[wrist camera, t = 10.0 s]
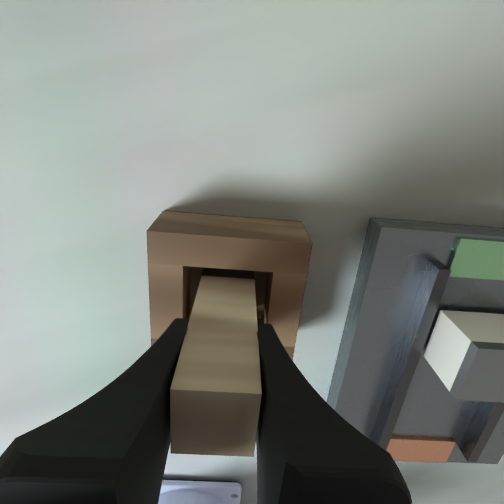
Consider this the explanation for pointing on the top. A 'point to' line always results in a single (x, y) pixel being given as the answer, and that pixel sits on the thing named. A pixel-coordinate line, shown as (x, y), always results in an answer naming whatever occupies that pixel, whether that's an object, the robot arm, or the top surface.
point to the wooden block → (218, 369)
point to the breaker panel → (417, 340)
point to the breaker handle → (469, 354)
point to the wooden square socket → (227, 266)
